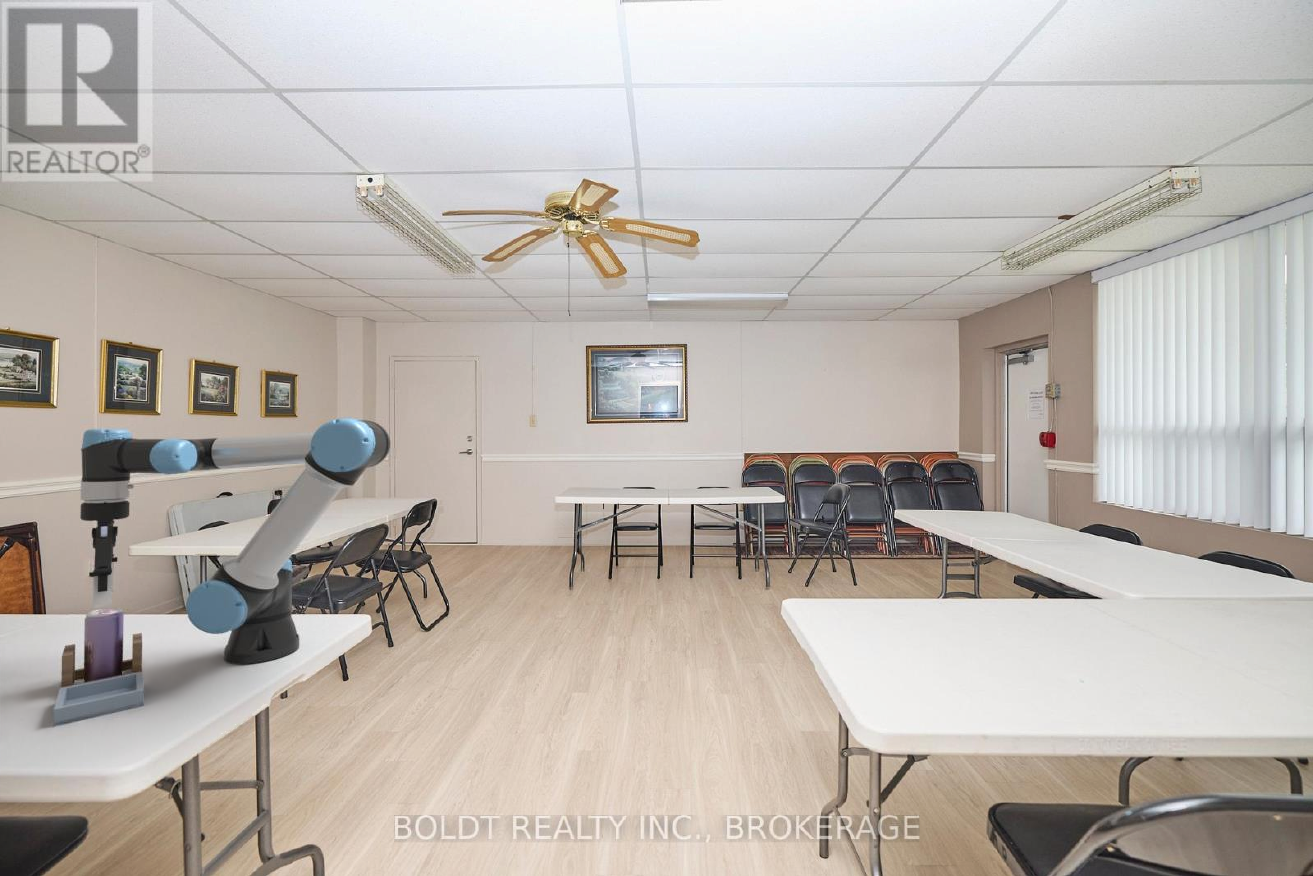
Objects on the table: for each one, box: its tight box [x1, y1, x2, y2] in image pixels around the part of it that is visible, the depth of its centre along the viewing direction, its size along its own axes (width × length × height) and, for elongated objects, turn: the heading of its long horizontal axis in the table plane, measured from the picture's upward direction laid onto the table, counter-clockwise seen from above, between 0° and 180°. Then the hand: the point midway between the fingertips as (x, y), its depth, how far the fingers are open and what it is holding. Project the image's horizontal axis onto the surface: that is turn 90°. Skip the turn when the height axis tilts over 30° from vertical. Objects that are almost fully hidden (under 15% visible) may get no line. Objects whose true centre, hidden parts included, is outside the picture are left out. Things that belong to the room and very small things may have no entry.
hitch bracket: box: [60, 632, 143, 688], centre depth 121 cm, size 11×12×8 cm
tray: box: [53, 670, 145, 727], centre depth 110 cm, size 12×12×3 cm
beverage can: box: [83, 607, 125, 682], centre depth 121 cm, size 6×6×15 cm
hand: (103, 599), depth 121 cm, fingers open, 13 cm apart
